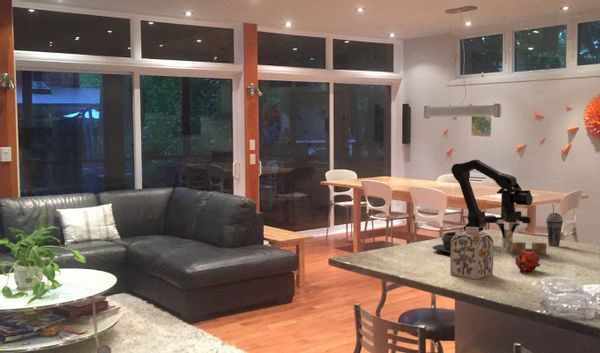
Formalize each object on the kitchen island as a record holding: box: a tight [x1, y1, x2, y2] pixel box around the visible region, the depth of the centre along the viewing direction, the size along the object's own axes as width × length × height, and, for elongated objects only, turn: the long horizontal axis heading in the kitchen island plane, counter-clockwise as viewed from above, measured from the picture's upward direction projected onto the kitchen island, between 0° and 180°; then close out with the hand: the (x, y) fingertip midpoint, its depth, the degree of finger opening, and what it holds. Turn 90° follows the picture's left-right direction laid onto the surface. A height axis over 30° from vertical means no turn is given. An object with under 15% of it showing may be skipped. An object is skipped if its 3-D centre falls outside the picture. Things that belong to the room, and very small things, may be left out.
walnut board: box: [511, 241, 547, 255], centre depth 268 cm, size 14×2×5 cm, turn 84°
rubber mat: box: [506, 251, 553, 259], centre depth 268 cm, size 16×13×1 cm
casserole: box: [432, 231, 458, 255], centre depth 274 cm, size 25×19×8 cm
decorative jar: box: [449, 227, 494, 281], centre depth 233 cm, size 12×12×18 cm
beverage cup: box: [545, 203, 564, 248], centre depth 289 cm, size 7×7×20 cm
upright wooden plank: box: [501, 226, 514, 251], centre depth 283 cm, size 2×12×9 cm, turn 174°
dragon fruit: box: [514, 250, 541, 273], centre depth 239 cm, size 8×8×12 cm
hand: (507, 238), depth 282 cm, fingers open, 3 cm apart
